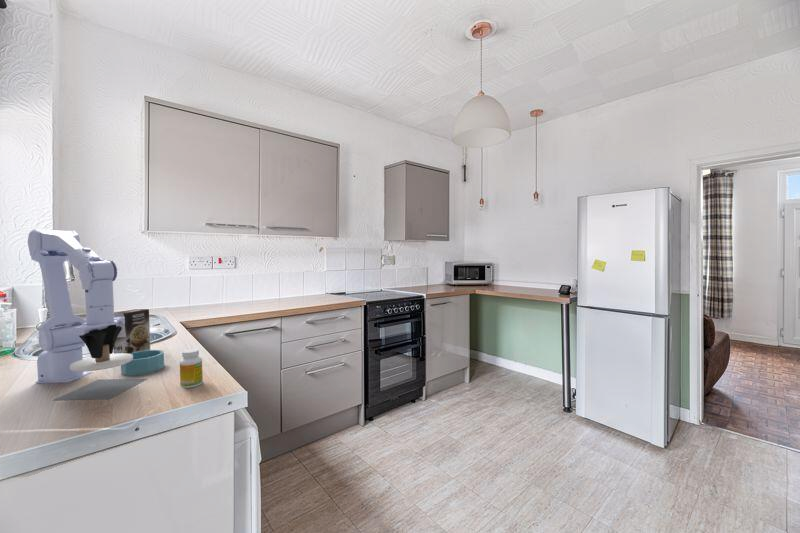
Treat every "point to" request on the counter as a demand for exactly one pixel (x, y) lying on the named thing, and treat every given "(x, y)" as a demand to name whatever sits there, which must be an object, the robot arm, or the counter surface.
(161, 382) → the counter surface
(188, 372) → the supplement bottle
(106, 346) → the lid
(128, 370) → the bowl
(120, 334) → the coffee box
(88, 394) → the mat
